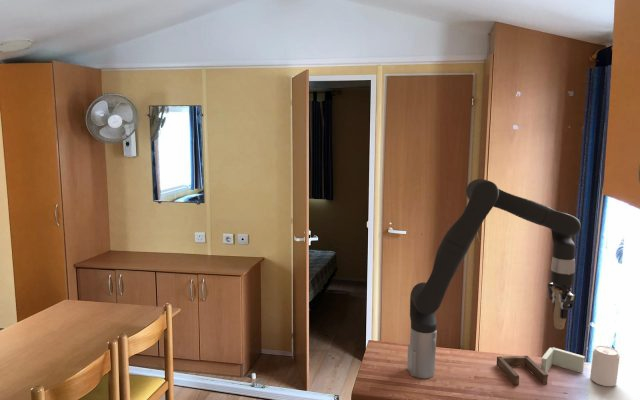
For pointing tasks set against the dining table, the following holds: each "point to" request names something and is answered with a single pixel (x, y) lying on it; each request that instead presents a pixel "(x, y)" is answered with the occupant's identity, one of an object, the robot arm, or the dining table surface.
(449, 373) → the dining table surface
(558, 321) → the handle
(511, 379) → the u-shaped bracket
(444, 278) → the robot arm
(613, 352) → the beverage can
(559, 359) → the cream l-shaped bracket
